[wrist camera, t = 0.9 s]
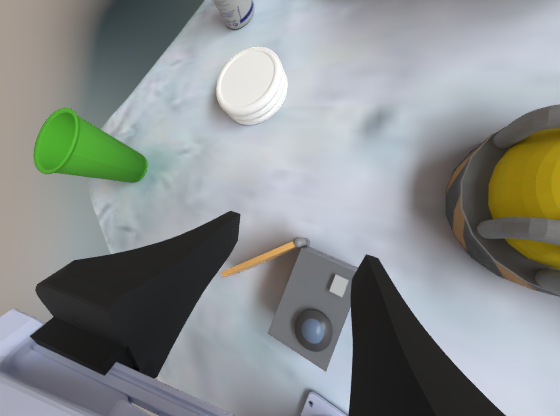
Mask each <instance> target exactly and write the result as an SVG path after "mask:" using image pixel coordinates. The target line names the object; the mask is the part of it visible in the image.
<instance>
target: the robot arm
mask: <svg viewBox="0 0 560 416" xmlns="http://www.w3.org/2000/svg"><path fill="white" fill-rule="evenodd" d="M239 223H240V214H239V213H236V212H233V211H229V212H227V213H225V214H223V215H221V216H219V217H218V218H216V219H214V220H212V221H210V222H208V223H206V224H204V225H202V226H200V227H197V228H195V229H193V230H191V231H188V232H186V233H184V234H181V235H179V236H176V237H174V238H171V239H168V240H165V241H162V242H159V243H155V244H152V245H148V246H145V247H141V248H138V249H134V250H129V251H125V252H120V253H115V254H110V255H105V256H99V257H92V258H86V259H80V260H74V261H73V262H71V263H70V264H68V265H67V266H65V267H64V268H62V269H60V270H59V271H57V272H56V273H54V274H52V275H51V276H49V277H48V278H47V279H45V280H43V281H42V282H40V283H39V284H37V286H36V293H37V295H38V297H39V298H40V300H41V301H42V302H43V304H44V305H45V306H46V307H47V309H48V310H49V311H50V313H51V314H52V315H53V316H54V317H53V318H52V319H51V320H49V321H48V322H47V323H46V324H45V323H44V322H42V321H41V320H39V319H37V318H36V317H33V316H31V315H29V314H27V313H24V312H22V311H20V310H18V309H11V310H10V311H8V312H7V313H5V314H4V315H2V316H1V317H0V416H150V415H148V414H147V413H145V412H143V411H142V410H140V409H139V408H137V407H135V406H134V405H132V403H134V404H136V405H138V406H140V407H142V408H144V409H147V410H149V411H151V412H153V413H155V414H157V415H159V416H234V415H232V414H230V413H228V412H226V411H223V410H221V409H219V408H217V407H215V406H212V405H210V404H208V403H206V402H204V401H201V400H199V399H197V398H195V397H193V396H190V395H188V394H186V393H184V392H182V391H179V390H177V389H175V388H173V387H171V386H168V385H166V384H164V383H162V382H160V381H157V380H155V379H154V378H156V377H157V376H158V374H159V372H160V370H161V368H162V366H163V364H164V362H165V360H166V358H167V356H168V354H169V352H170V350H171V348H172V347H173V345H174V343H175V341H176V339H177V337H178V335H179V334H180V332H181V330H182V328H183V326H184V324H185V323H186V321H187V319H188V317H189V315H190V314H191V312H192V310H193V308H194V307H195V305H196V303H197V302H198V300H199V298H200V297H201V295H202V293H203V292H204V290H205V289H206V287H207V286H208V284H209V283H210V281H211V280H212V279H213V277H214V276H215V275H216V273H217V272H218V271H219V269H220V268H221V266H222V265H223V264H224V262H225V261H226V260H227V258H228V257H229V255H230V254H231V252H232V250H233V248H234V247H235V245H236V243H237V241H238V233H239ZM350 299H351V318H352V336H353V359H352V379H351V395H350V406H349V416H506V415H504V414H503V413H502V412H501V411H500V410H499V409H498V408H497V407H496V406H495V405H494V404H493V403H492V402H491V401H490V400H489V399H488V398H487V397H486V396H485V395H484V394H483V393H482V392H481V391H480V390H479V389H478V388H477V387H476V386H475V385H474V384H473V383H472V382H471V381H470V380H469V379H468V378H467V377H466V376H465V375H464V374H463V373H462V372H461V371H460V369H459V368H458V367H457V366H456V365H455V364H454V363H453V362H452V361H451V360H450V358H449V357H448V356H447V355H446V354H445V353H444V352H443V351H442V349H441V348H440V347H439V346H438V345H437V344H436V342H435V341H434V340H433V339H432V337H431V336H430V335H429V334H428V332H427V331H426V330H425V329H424V327H423V326H422V325H421V324H420V322H419V321H418V320H417V318H416V317H415V315H414V314H413V313H412V311H411V310H410V308H409V307H408V305H407V304H406V303H405V301H404V300H403V298H402V297H401V295H400V293H399V292H398V290H397V289H396V287H395V286H394V284H393V282H392V281H391V279H390V277H389V276H388V274H387V272H386V271H385V269H384V267H383V266H382V264H381V262H380V261H379V259H378V258H376V257H373V256H370V255H367V254H366V256H365V257H364V259H363V261H362V262H361V264H360V266H359V268H358V269H357V271H356V273H355V274H354V276H353V278H352V283H351V296H350ZM309 401H312V403H313V404H310V403H309ZM131 402H132V403H131ZM300 416H347V415H346V414H344V413H343V412H342V411H340V410H339V409H337V408H336V407H335V406H333V405H332V404H330V403H329V402H328V401H326V400H325V399H323V398H322V397H321V396H319V395H318V394H316V393H315V392H312V391H311V392H309V394H308V397H307V399H306V402H305V405H304V407H303V410H302V413H301V415H300Z"/></svg>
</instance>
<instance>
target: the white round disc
mask: <svg viewBox="0 0 560 416" xmlns="http://www.w3.org/2000/svg"><path fill="white" fill-rule="evenodd" d="M287 88H288V82H287V76H286V74H285V72H284V69H283V66H282V64H281V61H280V59H279V58H278V56H277V55H276V54H275V53H274V52H273V51H272V50H270V49H268V48H265V47H251V48H247V49H245V50H242V51H240V52H239V53H237V54H236V55H234V56H233V57H232V58H231V59H230V60H229V61H228V62H227V63H226V65H225V66H224V67H223V69H222V71H221V73H220V75H219V77H218V81H217V86H216V96H217V100H218V102H219V104H220V106H221V108H222V109H223V110H224V111H226V113H227V114H228V115H229V116H230V117H231V118H232V119H233V120H234V121H236V122H238V123H240V124H243V125H255V124H259V123H262V122H264V121H266V120H268V119H269V118H270V117H272V116H273V115H274V114H275V113H276V112H277V111H278V110H279V109H280V107H281V106H282V104H283V102H284V100H285V97H286V94H287Z"/></svg>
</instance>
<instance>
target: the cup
mask: <svg viewBox="0 0 560 416" xmlns="http://www.w3.org/2000/svg"><path fill="white" fill-rule="evenodd" d="M34 162H35V165H36V168H37V169H38V170H39V171H40V172H42V173H44V174H51V173H61V174H69V175H77V176H85V177H93V178H101V179H109V180H117V181H124V182H137V181H139V180H141V179H142V178H143V176H144V175H145V173H146V170H147V161H146V159H145V157H144V156H143V155H141V154H140V153H138V152H137V151H135V150H133V149H132V148H130V147H128V146H127V145H125V144H123V143H122V142H120V141H118V140H117V139H115V138H114V137H112V136H110V135H109V134H107V133H105V132H104V131H102V130H100V129H99V128H97V127H95V126H93V125H92V124H90V123H89V122H87V121H86V120H84V119H82V118H81V117H79V116H77V115H76V113H75V111H73V110H72V109H69V108H61V109H59V110H57V111H56V112H54V113H53V114H52V115H50V117H49V118H48V119H47V120H46V121H45V123H44V125H43V126H42V128H41V130H40V132H39V134H38V137H37V140H36V143H35V148H34Z"/></svg>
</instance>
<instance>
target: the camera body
mask: <svg viewBox="0 0 560 416" xmlns="http://www.w3.org/2000/svg"><path fill="white" fill-rule="evenodd" d="M304 239H306V238H304ZM307 240H308V239H307ZM309 245H310V241H309V240H308V245H307V246H306V247H304V248H301V250H300V252H299V255H298V258H297V260H296V263H295V265H294V268H293V270H292V273H291V275H290V278H289V281H288V283H287V286H286V288H285V291H284V293H283V296H282V298H281V301H280V304H279V306H278V309H277V311H276V314H275V316H274V319H273V321H272V324H271V327H270V329H269V332H268V334H270V335H271V336H273V337H274V338H276V339H277V340H279V341H280V342H282V343H283V344H285V345H286V346H288V347H289V348H291V349H292V350H294V351H295V352H297V353H298V354H300V355H301V356H303V357H304V358H306V359H307V360H309V361H311V362H312V363H314V364H315V365H317V366H318V367H320V368H321V369H323V370H324V371H326V370H327V367H328V365H329V362H330V359H331V357H332V354H333V352H334V349H335V346H336V344H337V341H338V338H339V336H340V333H341V330H342V328H343V325H344V323H345V320H346V317H347V315H348V312H349V309H350V307H351V299H350V296H351V283H352V278H353V276H354V274H355V273H356V271H357V269H358V268H356V267H354V266H351V265H349V264H347V263H345V262H342V261H340V260H338V259H335V258H333V257H331V256H329V255H326V254H324V253H322V252H319V251H317V250H315V249H313V248H310V247H308V246H309Z"/></svg>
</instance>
